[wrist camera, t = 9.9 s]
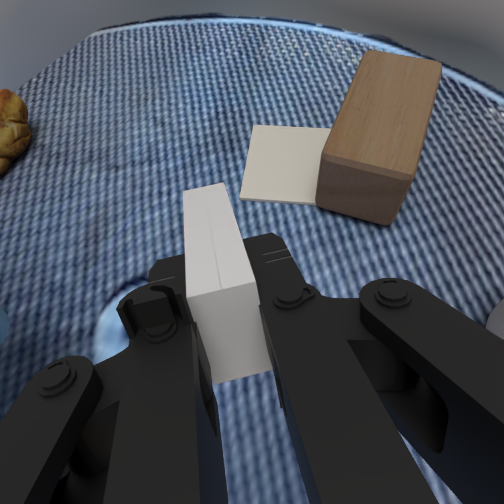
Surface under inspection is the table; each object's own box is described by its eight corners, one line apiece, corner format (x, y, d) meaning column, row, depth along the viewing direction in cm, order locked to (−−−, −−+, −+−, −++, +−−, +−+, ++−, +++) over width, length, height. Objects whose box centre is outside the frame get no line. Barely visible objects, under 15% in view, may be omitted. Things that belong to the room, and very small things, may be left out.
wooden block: (312, 208, 48) (352, 109, 57) (390, 230, 46) (419, 123, 54) (319, 152, 39) (365, 45, 48) (416, 175, 37) (446, 59, 46)
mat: (239, 200, 50) (239, 197, 50) (253, 127, 57) (253, 124, 56) (377, 210, 48) (378, 207, 47) (374, 133, 55) (375, 130, 54)
